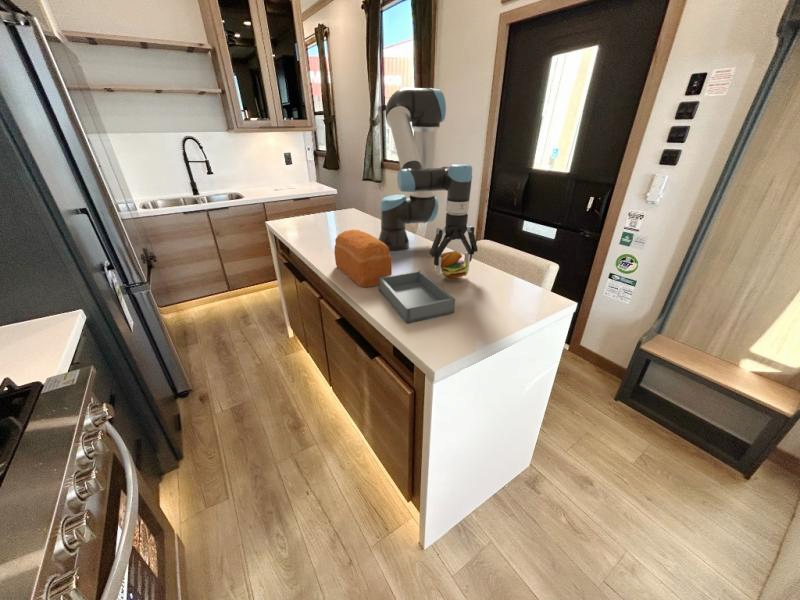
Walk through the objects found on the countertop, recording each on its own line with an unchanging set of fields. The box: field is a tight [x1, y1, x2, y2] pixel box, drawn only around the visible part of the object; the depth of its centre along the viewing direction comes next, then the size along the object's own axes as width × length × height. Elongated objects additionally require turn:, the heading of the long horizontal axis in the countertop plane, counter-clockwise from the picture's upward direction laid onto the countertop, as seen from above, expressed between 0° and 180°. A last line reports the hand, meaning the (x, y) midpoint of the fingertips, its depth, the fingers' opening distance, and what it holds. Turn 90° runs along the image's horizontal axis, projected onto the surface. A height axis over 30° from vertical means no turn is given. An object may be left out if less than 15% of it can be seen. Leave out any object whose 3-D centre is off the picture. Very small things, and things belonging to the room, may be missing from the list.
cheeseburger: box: [440, 250, 469, 279], centre depth 120 cm, size 10×11×10 cm
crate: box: [378, 270, 456, 325], centre depth 105 cm, size 24×16×5 cm, turn 23°
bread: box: [334, 229, 393, 288], centre depth 123 cm, size 14×26×16 cm, turn 33°
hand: (452, 271), depth 121 cm, fingers closed on cheeseburger, 11 cm apart
